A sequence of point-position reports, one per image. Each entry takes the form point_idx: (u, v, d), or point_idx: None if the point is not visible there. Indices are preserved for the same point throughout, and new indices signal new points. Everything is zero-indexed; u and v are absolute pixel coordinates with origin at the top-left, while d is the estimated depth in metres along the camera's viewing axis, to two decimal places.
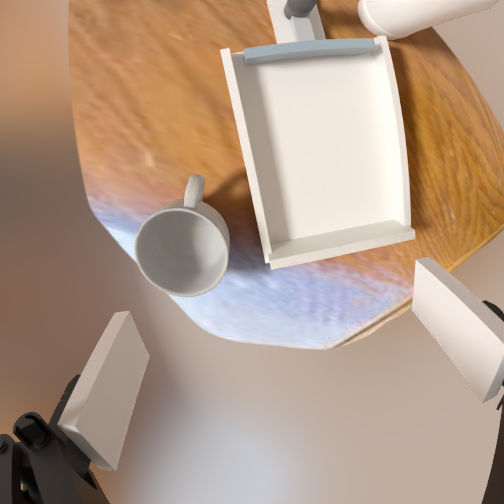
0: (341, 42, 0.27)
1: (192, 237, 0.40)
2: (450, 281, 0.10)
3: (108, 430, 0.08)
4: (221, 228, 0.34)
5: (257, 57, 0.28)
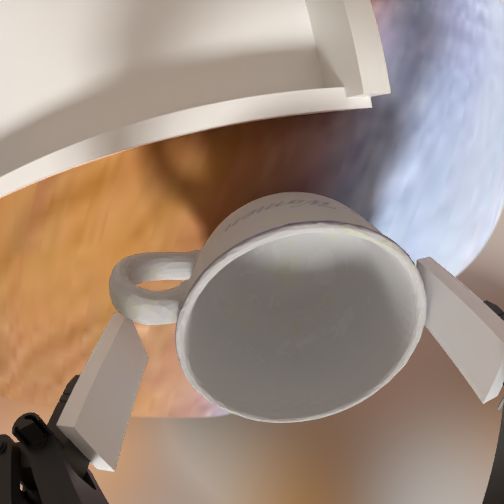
0: None
1: (293, 269, 0.18)
2: (451, 281, 0.10)
3: (107, 431, 0.08)
4: (246, 230, 0.11)
5: None
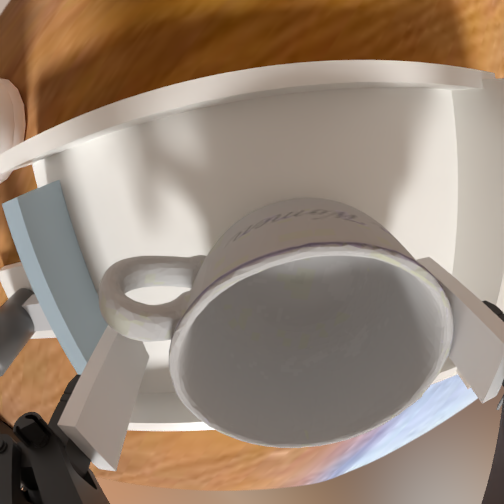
0: (35, 282, 0.12)
1: (307, 282, 0.16)
2: (450, 281, 0.10)
3: (108, 430, 0.08)
4: (258, 243, 0.09)
5: None
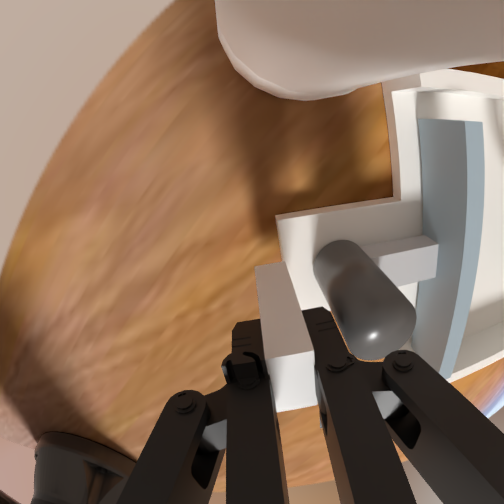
0: (473, 214, 0.11)
1: None
2: (284, 285, 0.13)
3: None
4: None
5: None
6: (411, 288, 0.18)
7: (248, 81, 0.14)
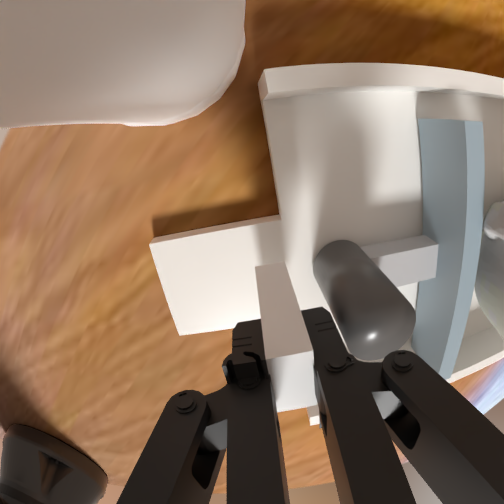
0: (473, 214, 0.11)
1: None
2: (283, 285, 0.13)
3: None
4: None
5: None
6: None
7: None
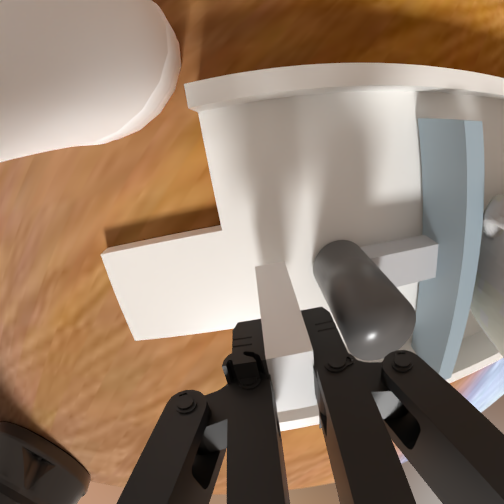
0: (473, 214, 0.11)
1: None
2: (283, 285, 0.13)
3: None
4: None
5: None
6: None
7: None
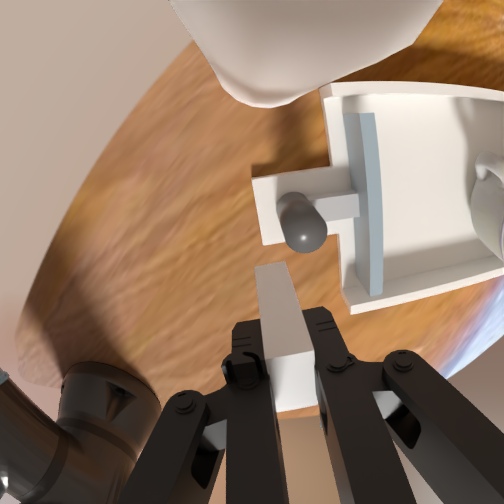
0: (371, 169, 0.21)
1: None
2: (284, 285, 0.13)
3: None
4: None
5: None
6: (348, 229, 0.27)
7: None
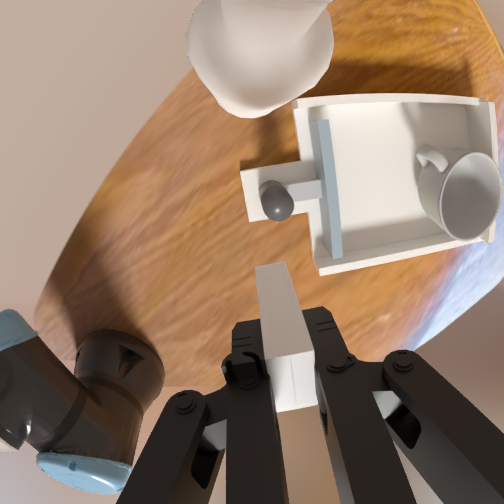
0: (327, 161, 0.30)
1: (446, 183, 0.34)
2: (284, 285, 0.13)
3: None
4: (467, 150, 0.27)
5: None
6: (315, 208, 0.36)
7: None
